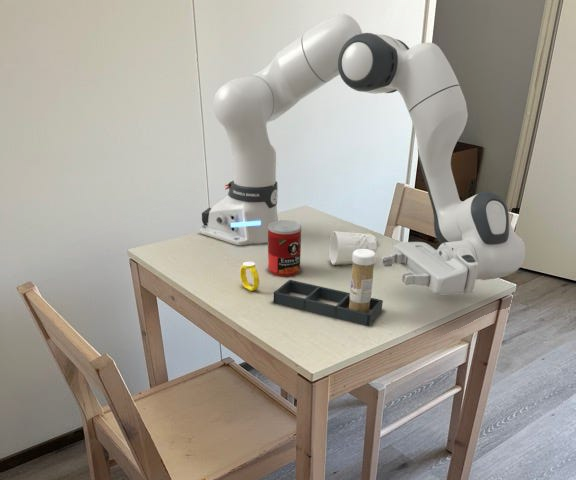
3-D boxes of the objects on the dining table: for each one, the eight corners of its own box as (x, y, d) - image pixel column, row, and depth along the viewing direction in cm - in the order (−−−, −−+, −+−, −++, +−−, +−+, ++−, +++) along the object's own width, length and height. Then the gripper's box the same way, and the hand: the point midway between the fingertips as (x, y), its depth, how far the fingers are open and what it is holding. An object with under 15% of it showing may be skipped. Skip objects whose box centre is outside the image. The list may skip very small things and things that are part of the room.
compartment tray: (273, 303, 129) (273, 292, 127) (289, 289, 135) (289, 279, 133) (369, 326, 121) (370, 315, 119) (381, 310, 127) (382, 300, 125)
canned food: (279, 279, 139) (280, 233, 133) (261, 268, 145) (261, 223, 138) (306, 272, 143) (308, 227, 137) (288, 261, 148) (288, 218, 142)
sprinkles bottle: (344, 310, 126) (348, 249, 118) (362, 306, 128) (368, 246, 120) (354, 320, 123) (360, 257, 115) (373, 316, 124) (380, 254, 117)
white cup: (378, 262, 144) (338, 261, 142) (367, 266, 151) (329, 266, 149) (377, 228, 143) (337, 228, 141) (366, 235, 151) (328, 235, 149)
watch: (262, 292, 133) (262, 267, 130) (251, 295, 132) (251, 269, 129) (248, 282, 137) (247, 258, 134) (237, 285, 136) (236, 260, 133)
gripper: (430, 232, 132) (373, 238, 128) (482, 266, 116) (419, 275, 112) (426, 259, 135) (370, 265, 132) (476, 296, 119) (414, 305, 116)
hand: (393, 270), depth 122 cm, fingers open, 8 cm apart
